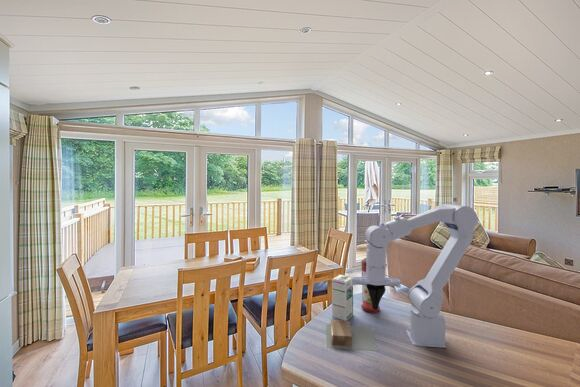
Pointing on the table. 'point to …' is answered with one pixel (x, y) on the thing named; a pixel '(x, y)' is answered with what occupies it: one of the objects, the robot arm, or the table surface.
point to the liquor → (366, 292)
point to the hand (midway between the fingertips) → (374, 308)
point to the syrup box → (342, 297)
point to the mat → (356, 339)
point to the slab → (341, 333)
